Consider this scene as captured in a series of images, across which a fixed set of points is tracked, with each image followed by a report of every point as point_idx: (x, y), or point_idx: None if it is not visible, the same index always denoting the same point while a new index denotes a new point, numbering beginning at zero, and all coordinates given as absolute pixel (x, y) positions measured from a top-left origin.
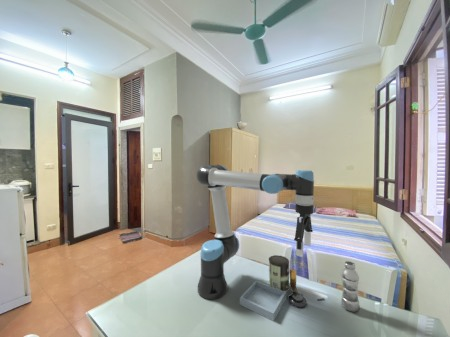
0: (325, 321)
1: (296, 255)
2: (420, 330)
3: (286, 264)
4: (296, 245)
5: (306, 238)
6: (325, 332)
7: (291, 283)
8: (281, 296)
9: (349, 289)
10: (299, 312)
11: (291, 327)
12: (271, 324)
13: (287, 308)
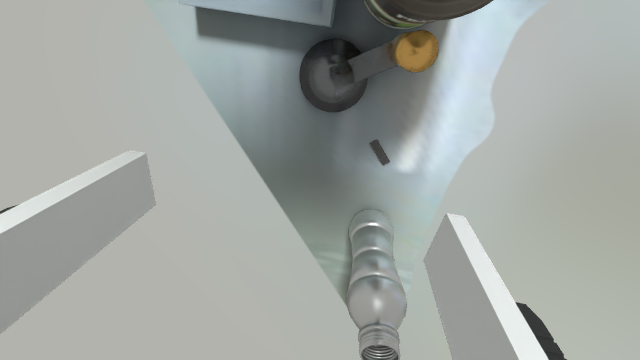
0: (286, 160)
1: (128, 153)
2: None
3: (393, 6)
4: (14, 210)
5: (466, 299)
6: (248, 157)
7: (392, 43)
8: (289, 11)
9: (352, 264)
10: (283, 88)
11: (209, 71)
12: (178, 3)
13: (280, 44)
